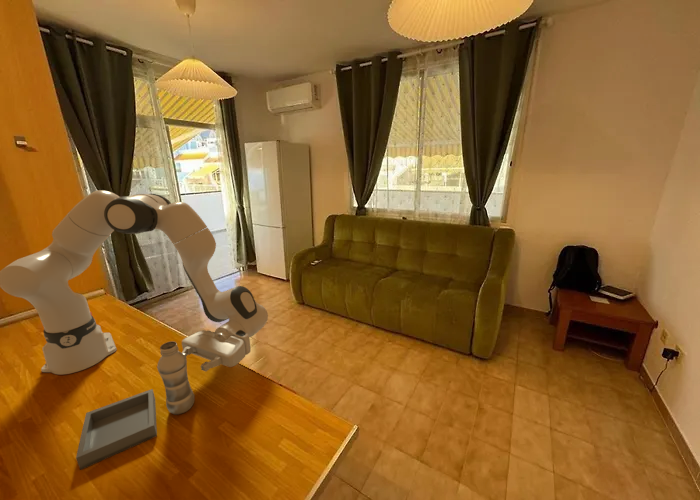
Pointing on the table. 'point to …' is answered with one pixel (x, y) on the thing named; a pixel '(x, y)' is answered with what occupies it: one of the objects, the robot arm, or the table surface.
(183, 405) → the plastic bottle
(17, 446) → the table surface
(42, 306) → the robot arm
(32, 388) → the table surface
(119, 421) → the box
